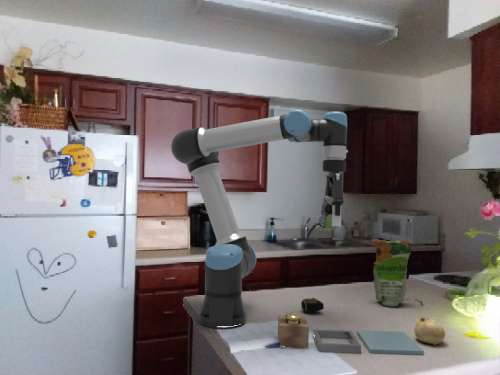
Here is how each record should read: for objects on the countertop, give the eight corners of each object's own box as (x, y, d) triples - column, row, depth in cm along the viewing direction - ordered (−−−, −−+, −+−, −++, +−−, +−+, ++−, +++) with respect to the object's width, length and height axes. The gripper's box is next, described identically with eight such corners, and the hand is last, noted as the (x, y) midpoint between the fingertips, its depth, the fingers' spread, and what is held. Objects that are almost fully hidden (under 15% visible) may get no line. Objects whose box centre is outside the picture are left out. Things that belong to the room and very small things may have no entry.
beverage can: (323, 224, 140) (325, 192, 137) (342, 229, 135) (344, 195, 133) (314, 228, 135) (316, 195, 132) (333, 233, 130) (336, 198, 128)
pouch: (412, 304, 147) (413, 239, 147) (393, 309, 140) (395, 241, 140) (387, 297, 156) (388, 236, 156) (368, 302, 149) (369, 237, 150)
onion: (435, 336, 115) (436, 313, 115) (450, 347, 107) (451, 322, 107) (409, 336, 115) (409, 312, 115) (422, 347, 107) (422, 321, 107)
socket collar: (318, 351, 102) (319, 344, 102) (313, 336, 113) (313, 329, 113) (360, 353, 102) (361, 345, 102) (351, 337, 113) (351, 330, 113)
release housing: (279, 348, 104) (279, 325, 104) (277, 337, 112) (278, 316, 112) (308, 349, 104) (308, 326, 104) (304, 338, 111) (305, 317, 111)
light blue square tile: (370, 353, 102) (370, 349, 102) (356, 333, 116) (356, 330, 116) (423, 355, 102) (423, 351, 102) (403, 335, 116) (404, 331, 116)
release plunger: (285, 344, 105) (285, 317, 105) (284, 338, 110) (284, 312, 110) (301, 345, 105) (301, 318, 105) (299, 339, 110) (300, 312, 110)
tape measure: (325, 312, 133) (324, 301, 133) (307, 315, 131) (306, 304, 131) (315, 306, 140) (315, 296, 140) (298, 309, 138) (297, 299, 138)
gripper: (354, 156, 115) (352, 228, 115) (338, 162, 140) (336, 221, 139) (329, 156, 115) (327, 227, 115) (317, 162, 140) (315, 220, 140)
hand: (332, 224), depth 127 cm, fingers open, 13 cm apart
